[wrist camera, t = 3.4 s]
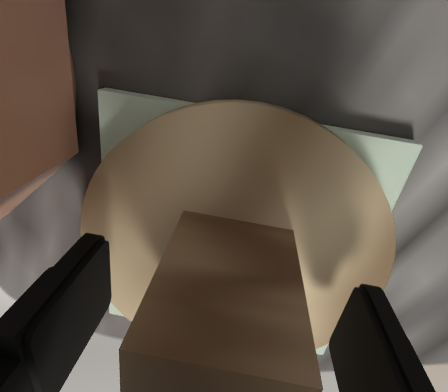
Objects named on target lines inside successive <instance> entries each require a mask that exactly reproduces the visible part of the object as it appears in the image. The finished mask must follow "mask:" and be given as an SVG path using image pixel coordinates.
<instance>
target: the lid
mask: <svg viewBox="0 0 448 392" xmlns="http://www.w3.org/2000/svg"><path fill="white" fill-rule="evenodd" d="M85 233H92V234H97V235H102V236H104V237H105V240H106V241H108V242H109V249H110V271H111V293H112V298H111V303H112V304H113V305H114V306H115V307H116V308H117V309H118V310H119V311H120V312H121V313H122V314H123V315H124V316H125V317H126V318H127V319H128V320H130V321H131V325H130V327H129V329H128V331H127V333H126V335H125V337H124V340H123V342H122V344H121V346H120V348H119V362H120V391H121V392H322V390H323V387H322V381H321V376H320V371H319V365H318V360H317V354H316V349H317V348H320V347H322V346H324V345H326V344H328V343H329V341H330V337H331V335H332V333H333V331H334V329H335V327H336V325H337V322H338V320H339V318H340V316H341V314H342V312H343V310H344V308H345V306H346V303H347V301H348V299H349V297H350V295H351V293H352V291H353V289H354V288H355V287H359V286H360V285H361V284H367V285H373V286H378V287H380V288H382V290H383V291H384V289H385V287H386V285H387V282H388V280H389V278H390V275H391V272H392V268H393V264H394V260H395V250H396V234H395V223H394V219H393V215H392V212H391V208H390V204H389V202H388V200H387V198H386V196H385V193H384V191H383V189H382V187H381V185H380V183H379V182H378V181H377V179H376V178H375V176H374V175H373V173H372V172H371V170H370V169H369V167H368V166H367V165H366V164H365V163H364V162H363V161H362V160H361V159H360V157H359V156H358V155H357V154H356V153H355V152H354V151H353V150H352V149H351V148H350V147H349V146H348V145H347V144H346V143H345V142H344V141H343V140H342V139H341V138H339V137H338V136H337V135H335V134H334V133H333V132H332V131H330V130H329V129H328V128H326V127H325V126H323V125H321V124H320V123H318V122H316V121H314V120H312V119H311V118H309V117H307V116H305V115H303V114H300V113H297V112H295V111H292V110H290V109H287V108H285V107H281V106H277V105H273V104H269V103H264V102H260V101H250V100H240V99H228V100H211V101H205V102H199V103H194V104H189V105H186V106H183V107H180V108H177V109H174V110H171V111H168V112H166V113H164V114H162V115H160V116H158V117H156V118H154V119H152V120H150V121H149V122H147V123H146V124H144V125H143V126H141V127H140V128H138V129H137V130H135V131H134V132H133V133H131V134H130V135H128V136H127V137H126V138H124V139H123V140H122V141H121V142H119V143H118V144H117V145H116V146H115V147H114V148H113V149H112V150H111V151H110V152H109V153H108V154H107V156H106V157H105V158H104V160H103V161H102V162H101V164H100V165H99V166H98V168H97V169H96V171H95V173H94V175H93V177H92V179H91V181H90V183H89V185H88V187H87V191H86V194H85V197H84V200H83V205H82V212H81V237H82V236H83V235H84V234H85Z"/></svg>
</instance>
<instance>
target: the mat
mask: <svg viewBox="0 0 448 392" xmlns="http://www.w3.org/2000/svg"><path fill="white" fill-rule="evenodd" d="M189 104H194V102H188V101H182V100H176V99H170V98H164V97H158V96H152V95H147V94H141V93H135V92H129V91H123V90H117V89H111V88H102V89H98V107H99V125H100V144H101V162H102V161H103V160H104V158H105V157H106V156H107V154H108V153H109V152H110V151H111V150H112V149H113V148H114V147H115V146H116V145H117V144H118V143H119V142H121V141H122V140H123V139H124V138H126V137H127V136H128V135H130V134H131V133H133V132H134V131H135V130H137V129H138V128H140V127H141V126H143V125H144V124H146V123H147V122H149V121H150V120H152V119H154V118H156V117H158V116H160V115H162V114H164V113H166V112H168V111H171V110H174V109H177V108H180V107H183V106H186V105H189ZM321 125H323V124H321ZM323 126H325V127H326V128H328V129H329V130H330V131H332V132H333V133H334V134H335V135H337V136H338V137H339V138H341V139H342V140H343V141H344V142H345V143H346V144H347V145H348V146H349V147H350V148H351V149H352V150H353V151H354V152H355V153H356V154H357V155H358V156H359V157H360V159H361V160H362V161H363V162H364V163H365V164H366V165H367V166H368V167H369V169H370V170H371V172H372V173H373V175H374V176H375V178H376V179H377V181H378V182H379V183H380V185H381V187H382V189H383V191H384V193H385V196H386V198H387V200H388V202H389V204H390V208H391V211H392V209H393V207H394V205H395V203H396V201H397V199H398V197H399V195H400V193H401V190H402V188H403V186H404V184H405V182H406V180H407V178H408V176H409V174H410V172H411V169H412V167H413V165H414V163H415V161H416V159H417V157H418V155H419V153H420V151H421V149H422V146H423V145H422V144H420V143H418V142H417V141H415V140H411V139H405V138H399V137H393V136H387V135H381V134H375V133H369V132H364V131H358V130H352V129H346V128H340V127H334V126H328V125H323ZM109 312H110V314H115V315H120V316H124V315H123V314H122V313H121V312H120V311H119V310H118V309H117V308H116V307H115V306H114V305H113V304H112V303H111V302H110V305H109ZM327 345H328V344H326V345H324V346H322V347H320V348H317V349H316V354H320V355H323V354H324V352H325V349H326V347H327Z"/></svg>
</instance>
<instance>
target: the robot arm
mask: <svg viewBox="0 0 448 392" xmlns="http://www.w3.org/2000/svg"><path fill="white" fill-rule="evenodd" d="M111 298H112V293H111V271H110V249H109V242H108V241H106V240H105V237H104V236H102V235H97V234H92V233H85V234H84V235H83V236H82V237H81V238H80V239H79V240H78V241H77V242H76V243H75V244H74V245H73V246H72V247H71V248H70V250H69V251H68V252H67V253H66V254H65V255H64V256H63V257H62V258H61V259H60V260H59V261H58V262H57V263H56V264H55V265H54V267H50V268H48V269H47V270H46V271H45V272H44V273H43V274H42V275H41V276H40V277H39V278H38V279H37V280H36V281H35V282H34V283H33V284H32V285H31V286H30V287H29V288H28V289H27V291H26V292H25V293H24V294H23V295H22V296H21V297H20V298H19V299H18V300H17V301H16V302H15V303H14V304H13V305H12V306H11V307H10V308H9V310H7V311H6V312H5V313H4V315H3V316H2V317H1V318H0V392H59V391H60V390H61V388H62V386H63V385H64V383H65V381H66V379H67V378H68V376H69V374H70V372H71V371H72V369H73V367H74V365H75V364H76V362H77V360H78V359H79V357H80V355H81V354H82V352H83V350H84V348H85V347H86V345H87V343H88V342H89V340H90V338H91V336H92V335H93V333H94V331H95V330H96V328H97V326H98V324H99V323H100V321H101V319H102V318H103V316H104V314H105V312H106V311H107V309H108V307H109V305H110V302H111ZM329 350H330V354H331V358H332V363H333V367H334V371H335V376H336V380H337V384H338V388H339V392H435V390H434V388H433V386H432V384H431V382H430V380H429V378H428V376H427V374H426V372H425V370H424V368H423V366H422V364H421V362H420V360H419V358H418V356H417V354H416V352H415V351H414V349H413V347H412V345H411V343H410V341H409V339H408V338H407V336H406V334H405V332H404V331H403V329H402V327H401V325H400V323H399V321H398V319H397V317H396V315H395V313H394V311H393V309H392V307H391V305H390V303H389V301H388V299H387V297H386V295H385V293H384V291H383V290H382V288H380V287H378V286H373V285H367V284H361V285H360V286H359V287H355V288H354V289H353V291H352V293H351V295H350V297H349V299H348V301H347V303H346V306H345V308H344V310H343V312H342V314H341V316H340V318H339V320H338V322H337V325H336V327H335V329H334V331H333V333H332V335H331V337H330V341H329Z"/></svg>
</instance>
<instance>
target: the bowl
mask: <svg viewBox="0 0 448 392" xmlns="http://www.w3.org/2000/svg"><path fill="white" fill-rule="evenodd" d="M76 105H77V101H76V79H75V72H74V65H73V58H72V54H71V50H70V47H69V41H68V30H67V19H66V8H65V0H0V219H1V218H2V217H4V216H5V215H7V214H8V213H9V212H10V211H12V210H13V209H14V208H15V207H16V206H17V205H18V204H20V203H21V202H22V201H23V200H24V199H25V198H26V197H28V196H29V195H30V194H31V193H32V192H33V191H34V190H36V189H37V188H38V187H39V186H40V185H41V184H42V183H44V182H45V181H46V180H47V179H48V178H49V177H50V176H52V175H53V174H54V173H55V172H56V171H57V170H58V169H60V168H61V167H62V166H63V165H64V164H65V163H66V162H68V161H69V160H70V159H71V158H72V157H73V156H74V155H76V154H77V153H78V152H79V151H78V140H77V129H76V118H75V114H76Z"/></svg>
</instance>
